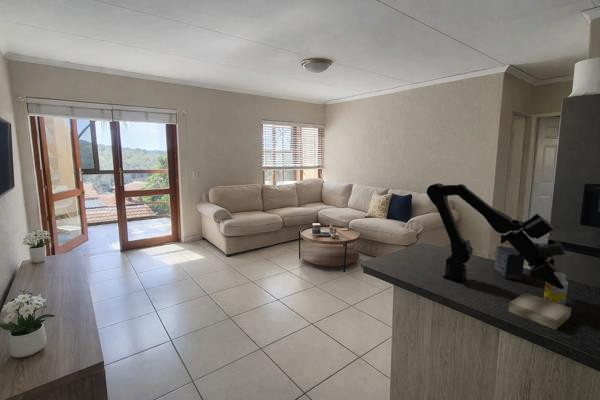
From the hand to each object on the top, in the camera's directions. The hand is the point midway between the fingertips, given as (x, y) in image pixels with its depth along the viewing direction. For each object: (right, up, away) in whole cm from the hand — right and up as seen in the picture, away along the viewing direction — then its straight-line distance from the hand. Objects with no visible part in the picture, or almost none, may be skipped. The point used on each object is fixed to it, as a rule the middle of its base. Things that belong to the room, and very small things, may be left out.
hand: (562, 285), depth 98 cm
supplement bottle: (-1, -7, +2) cm, 7 cm away
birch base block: (-12, -7, -5) cm, 15 cm away
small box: (-1, -3, +25) cm, 25 cm away
